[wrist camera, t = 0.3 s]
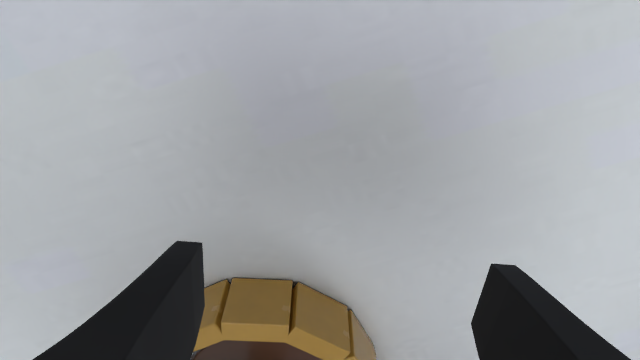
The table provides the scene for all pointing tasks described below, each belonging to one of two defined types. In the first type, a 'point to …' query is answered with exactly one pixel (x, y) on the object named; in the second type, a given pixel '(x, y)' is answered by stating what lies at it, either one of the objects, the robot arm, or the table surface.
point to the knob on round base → (251, 351)
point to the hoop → (282, 319)
